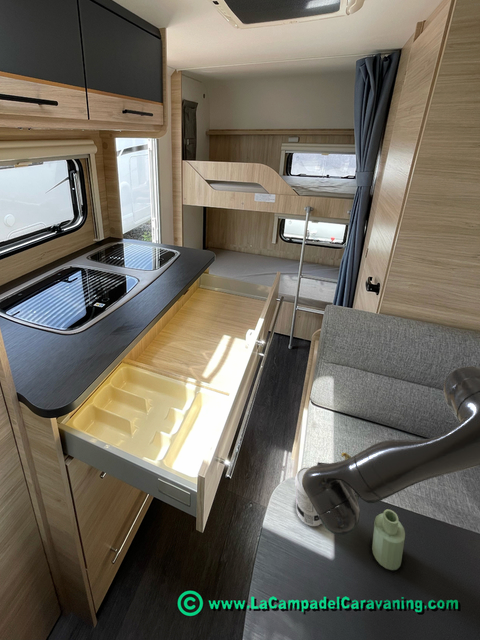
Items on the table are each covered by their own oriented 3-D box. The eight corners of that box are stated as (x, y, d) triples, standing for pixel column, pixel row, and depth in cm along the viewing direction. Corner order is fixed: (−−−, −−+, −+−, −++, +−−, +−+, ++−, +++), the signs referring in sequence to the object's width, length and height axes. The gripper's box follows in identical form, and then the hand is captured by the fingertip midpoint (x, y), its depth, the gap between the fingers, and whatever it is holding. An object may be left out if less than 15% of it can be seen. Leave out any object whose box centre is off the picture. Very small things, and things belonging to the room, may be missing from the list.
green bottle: (403, 553, 86) (409, 513, 81) (397, 578, 82) (403, 537, 76) (376, 535, 91) (379, 496, 85) (369, 558, 86) (372, 519, 81)
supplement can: (293, 499, 103) (291, 466, 97) (319, 497, 102) (319, 464, 97) (300, 528, 95) (299, 494, 90) (328, 527, 94) (329, 492, 89)
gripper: (379, 481, 70) (382, 472, 83) (311, 453, 78) (324, 448, 91) (374, 521, 68) (378, 505, 81) (305, 487, 76) (319, 477, 89)
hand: (349, 475), depth 86 cm, fingers closed on vegetable, 4 cm apart
